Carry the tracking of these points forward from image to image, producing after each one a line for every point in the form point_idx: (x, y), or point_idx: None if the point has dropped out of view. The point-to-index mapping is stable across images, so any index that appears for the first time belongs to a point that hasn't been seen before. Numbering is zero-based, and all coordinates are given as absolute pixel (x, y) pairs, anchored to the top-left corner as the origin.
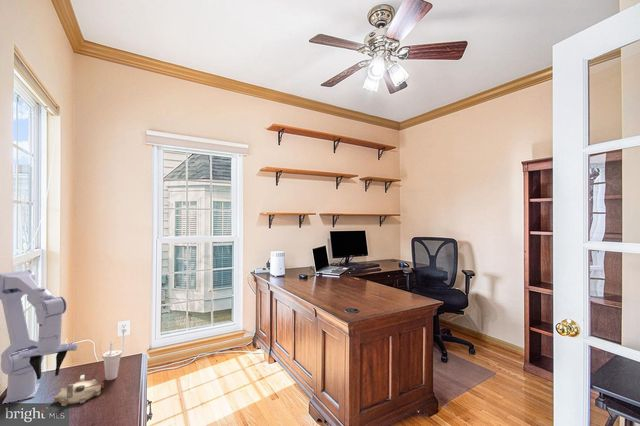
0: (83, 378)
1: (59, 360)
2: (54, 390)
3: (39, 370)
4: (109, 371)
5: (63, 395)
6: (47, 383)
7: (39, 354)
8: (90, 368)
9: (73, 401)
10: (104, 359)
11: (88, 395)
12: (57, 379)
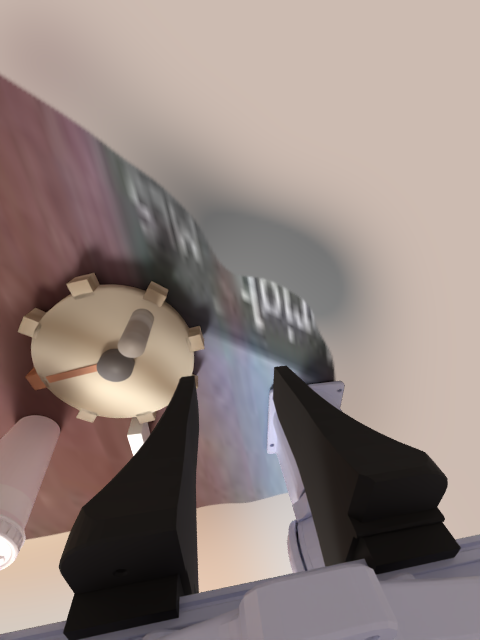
0: (129, 433)
1: (150, 471)
2: (219, 408)
3: (299, 407)
4: (16, 445)
5: (171, 340)
6: (247, 451)
7: (415, 592)
8: None
9: (122, 288)
10: (8, 511)
11: (62, 301)
12: (225, 464)
